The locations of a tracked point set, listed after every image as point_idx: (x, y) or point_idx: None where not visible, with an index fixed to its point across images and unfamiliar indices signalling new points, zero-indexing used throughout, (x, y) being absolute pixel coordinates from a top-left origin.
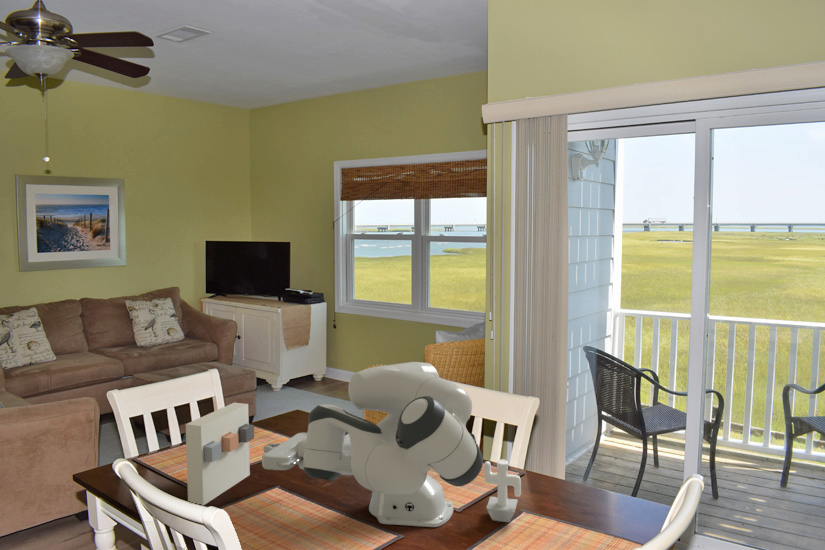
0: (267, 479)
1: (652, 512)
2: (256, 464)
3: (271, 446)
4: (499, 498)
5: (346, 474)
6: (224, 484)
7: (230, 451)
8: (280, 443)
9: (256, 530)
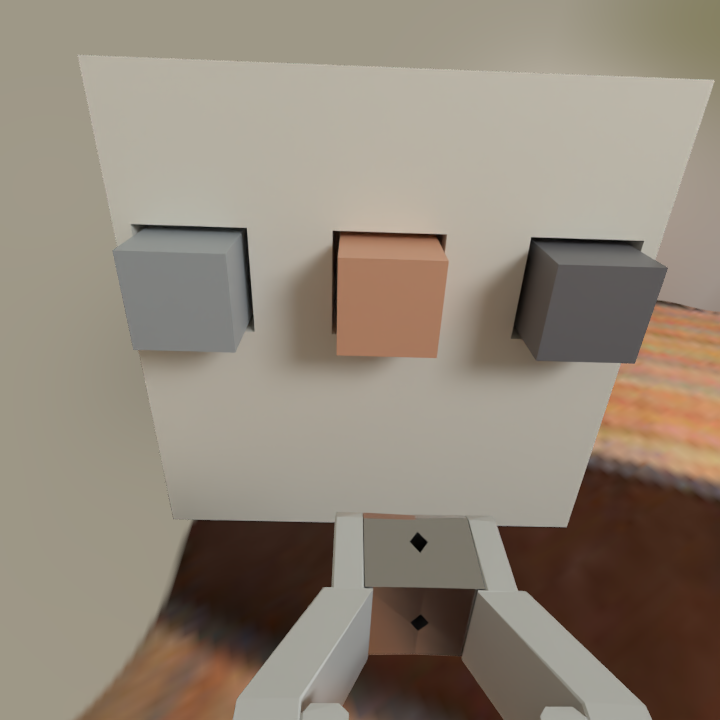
0: (596, 649)
1: None
2: (677, 494)
3: (416, 599)
4: None
5: None
6: (344, 495)
7: (341, 353)
8: (581, 708)
9: None
